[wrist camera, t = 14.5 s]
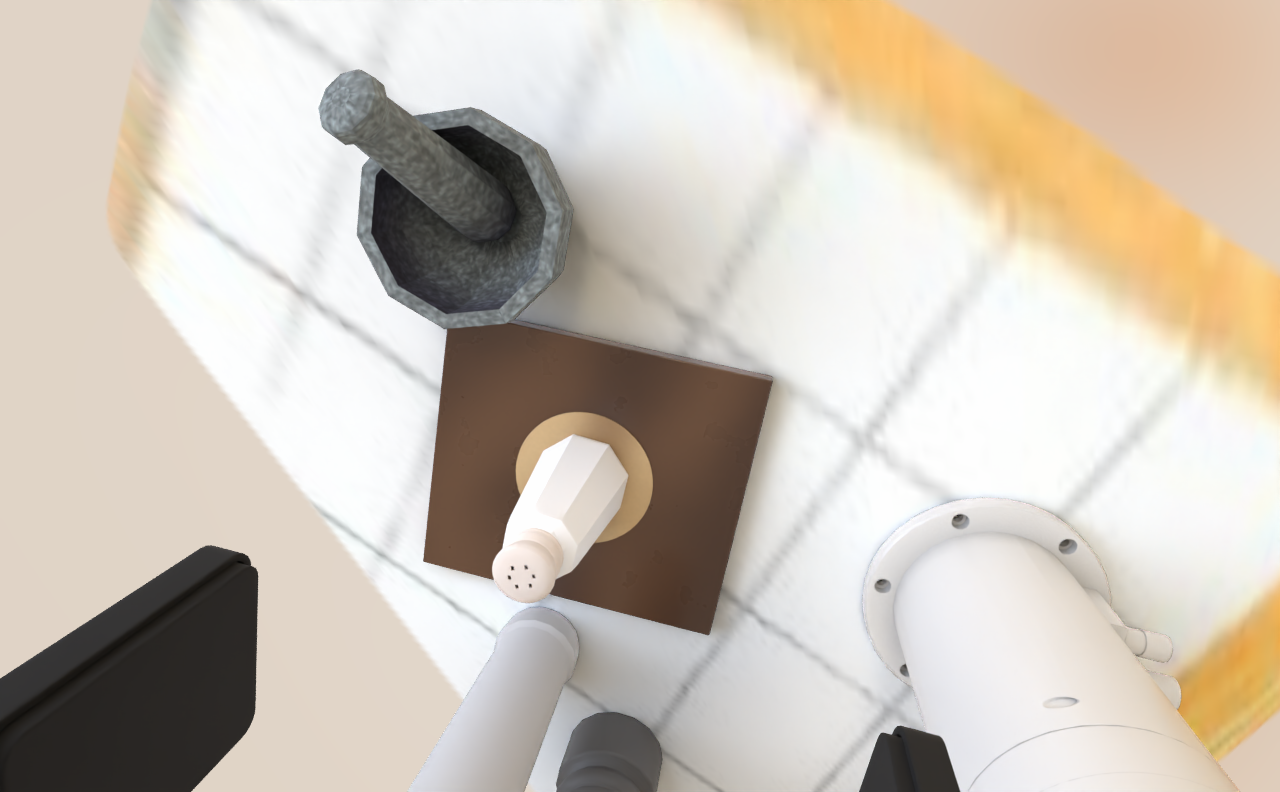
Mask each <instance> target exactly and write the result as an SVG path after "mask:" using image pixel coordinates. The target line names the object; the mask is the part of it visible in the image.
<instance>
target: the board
mask: <svg viewBox="0 0 1280 792" xmlns="http://www.w3.org/2000/svg"><path fill="white" fill-rule="evenodd" d="M772 382H773V381H772V376H768V375H764V374H759V373H755V372H750V371H746V370H741V369H737V368H732V367H727V366H723V365H718V364H714V363H709V362H705V361H700V360H696V359H691V358H686V357H682V356H677V355H673V354H668V353H664V352H659V351H655V350H650V349H645V348H641V347H636V346H632V345H627V344H623V343H618V342H614V341H609V340H604V339H600V338H595V337H591V336H586V335H582V334H577V333H573V332H568V331H563V330H559V329H554V328H550V327H545V326H541V325H536V324H532V323H527V322H522V321H518V320H511V321H510V322H508V323H506V324H495V325H484V326H472V327H461V328H450V329H447V337H446V347H445V356H444V366H443V376H442V385H441V395H440V405H439V414H438V424H437V434H436V443H435V453H434V463H433V472H432V482H431V492H430V501H429V511H428V521H427V530H426V540H425V550H424V559H423V561H424V562H427V563H431V564H435V565H439V566H442V567H446V568H450V569H454V570H458V571H462V572H466V573H469V574H473V575H477V576H481V577H485V578H489V579H493V580H494V578H493V574H492V566H493V561H494V559H495V557H496V555H497V554H498V553H499V552H500V551H501V550H502V548H503V543H504V538H505V533H506V528H507V524H508V521H509V519H510V516H511V514H512V512H513V510H514V508H515V506H516V504H517V502H518V500H519V498H520V496H521V494H522V492H523V490H524V488H525V486H526V484H527V482H528V480H529V478H530V476H531V474H532V472H533V470H534V468H535V466H536V464H537V462H538V460H539V458H540V456H541V454H542V452H543V451H544V450H546V449H547V448H549V447H551V446H553V445H555V444H556V443H558V442H560V441H562V440H564V439H565V438H567V437H569V436H571V435H573V434H575V435H578V436H582V437H585V438H589V439H592V440H596V441H599V442H603V443H606V444H609V445H610V447H611V448H612V450H613V451H614V453H615V455H616V456H617V458H618V459H619V461H620V462H621V464H622V466H623V467H624V469H625V470H626V472H627V474H628V479H627V483H626V487H625V491H624V495H623V499H622V503H621V507H620V509H619V510H618V512H617V513H616V514H615V516H614V517H613V518H612V520H611V521H610V522H609V524H608V525H607V526H606V528H605V529H604V530H603V532H602V533H601V534H600V536H599V537H598V538H597V540H596V541H595V542H594V544H593V545H592V546H591V548H590V549H589V550H588V552H587V553H586V554H585V556H584V557H583V558H582V560H581V561H580V562H579V564H578V565H577V566H576V567H575V568H574V569H573V570H572V572H570V573H568V574H566V575H563V576H561V577H559V578H557V579H556V580H555V584H554V587H553V589H552V590H551V592H550V594H551V595H555V596H558V597H562V598H566V599H570V600H574V601H578V602H582V603H585V604H589V605H593V606H597V607H601V608H605V609H609V610H613V611H616V612H620V613H624V614H628V615H632V616H636V617H640V618H643V619H647V620H651V621H655V622H659V623H663V624H667V625H671V626H674V627H678V628H682V629H686V630H690V631H694V632H698V633H701V634H705V635H709V634H710V631H711V627H712V623H713V619H714V615H715V611H716V607H717V603H718V599H719V595H720V591H721V587H722V583H723V579H724V575H725V571H726V567H727V563H728V559H729V554H730V550H731V546H732V542H733V538H734V534H735V530H736V526H737V522H738V518H739V514H740V510H741V506H742V502H743V498H744V494H745V490H746V486H747V482H748V478H749V474H750V470H751V466H752V462H753V458H754V454H755V450H756V446H757V442H758V438H759V434H760V430H761V426H762V422H763V418H764V414H765V410H766V406H767V402H768V398H769V394H770V390H771V386H772Z"/></svg>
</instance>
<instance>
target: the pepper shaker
mask: <svg viewBox="0 0 1280 792" xmlns="http://www.w3.org/2000/svg"><path fill="white" fill-rule="evenodd" d="M627 479H628V474H627V472H626V470H625V469H624V467H623V466H622V464H621V462H620V461H619V459H618V458H617V456H616V455H615V453H614V451H613V450H612V448H611V447H610V445H609V444H606V443H603V442H599V441H596V440H592V439H589V438H585V437H582V436H578V435H575V434H573V435H571V436H569V437H567V438H565V439H564V440H562V441H560V442H558V443H556V444H555V445H553V446H551V447H549V448H547V449H546V450H544V451H543V452H542V454H541V456H540V458H539V460H538V462H537V464H536V466H535V468H534V470H533V472H532V474H531V476H530V478H529V480H528V482H527V484H526V486H525V488H524V490H523V492H522V494H521V496H520V498H519V500H518V502H517V504H516V506H515V508H514V510H513V512H512V514H511V516H510V519H509V521H508V524H507V528H506V533H505V538H504V543H503V548H502V550H501V551H500V552H499V553H498V554H497V555H496V557H495V559H494V561H493V566H492V574H493V578H494V581H495V583H496V585H497V586H498V588H499V589H500V591H502V592H503V593H504V594H505V595H506V596H507V597H509V598H511V599H513V600H515V601H518V602H522V603H533V602H538V601H540V600H542V599H544V598H545V597H546V596H547V595H548V594H550V592H551V590H552V589H553V587H554V584H555V580H556V579H557V578H559V577H561V576H563V575H566V574H568V573H570V572H572V570H573V569H574V568H575V567H576V566H577V565H578V564H579V562H580V561H581V560H582V558H583V557H584V556H585V554H586V553H587V552H588V550H589V549H590V548H591V546H592V545H593V544H594V542H595V541H596V540H597V538H598V537H599V536H600V534H601V533H602V532H603V530H604V529H605V528H606V526H607V525H608V524H609V522H610V521H611V520H612V518H613V517H614V516H615V514H616V513H617V512H618V510H619V509H620V507H621V503H622V499H623V495H624V491H625V487H626V483H627Z"/></svg>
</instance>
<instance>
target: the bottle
mask: <svg viewBox="0 0 1280 792" xmlns="http://www.w3.org/2000/svg"><path fill="white" fill-rule="evenodd" d="M578 654H579V643H578V638H577V632H576V631H575V629H574V628H573V626H572V625H571V623H570V621H569V620H568V619H566V618H565V617H564V616H562V615H561V614H560V613H558V612H557V611H553V610H550V609H547V608H544V607H534V608H528V609H525V610H523V611H521V612H519V613H517V614H515V615H514V616H513V617H512V618H511V619H510V620H509V622H508V623H507V624H506V625H505V626H504V627H503V629H502V630H501V631H500V633H499V634H498V636H497V639H496V643H495V648H494V652H493V653H492V655H491V656H490V658H489V660H488V661H487V663H486V665H485V666H484V668H483V669H482V671H481V673H480V674H479V676H478V678H477V679H476V681H475V682H474V684H473V686H472V687H471V689H470V690H469V692H468V694H467V695H466V697H465V699H464V700H463V702H462V703H461V705H460V707H459V708H458V710H457V712H456V713H455V715H454V716H453V718H452V720H451V722H450V723H449V725H448V726H447V728H446V729H445V731H444V733H443V734H442V736H441V737H440V739H439V741H438V743H437V744H436V746H435V747H434V749H433V751H432V752H431V754H430V756H429V757H428V759H427V760H426V762H425V763H424V765H423V767H422V768H421V770H420V772H419V773H418V775H417V776H416V778H415V780H414V781H413V783H412V785H411V786H410V788H409V789H408V791H407V792H524V791H525V789H526V786H527V783H528V780H529V778H530V775H531V772H532V770H533V767H534V764H535V761H536V759H537V756H538V753H539V751H540V748H541V745H542V742H543V740H544V737H545V734H546V732H547V729H548V726H549V723H550V721H551V718H552V715H553V713H554V710H555V707H556V704H557V702H558V699H559V696H560V694H561V691H562V688H563V685H564V684H565V683H566V682H567V681H568V680H569V679H570V678H571V677H572V675H573V672H574V669H575V665H576V662H577V658H578Z"/></svg>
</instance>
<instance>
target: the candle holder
mask: <svg viewBox="0 0 1280 792" xmlns="http://www.w3.org/2000/svg"><path fill="white" fill-rule="evenodd" d="M661 764H662V754H661V749H660V744H659V742H658V741H657V739H656V738H655V736H654V735H653V733H652V732H651V730H650V729H649V728H647V727H646V726H645V725H643V724H642V723H640V722H639V721H638V720H636V719H635V718H632V717H629V716H626V715H622V714H619V713H597V714H595V715H593V716H590V717H588V718H586V719H583V720H582V721H581V722H580V724H579V725H578V726H577V727H576V728H575V729H574V730H573V732H572V735H571V738H570V741H569V744H568V747H567V749H566V752H565V755H564V758H563V761H562V764H561V767H560V770H559V774H558V778H557V783H556V786H557V791H556V792H657V786H658V781H659V775H660V769H661Z"/></svg>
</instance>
